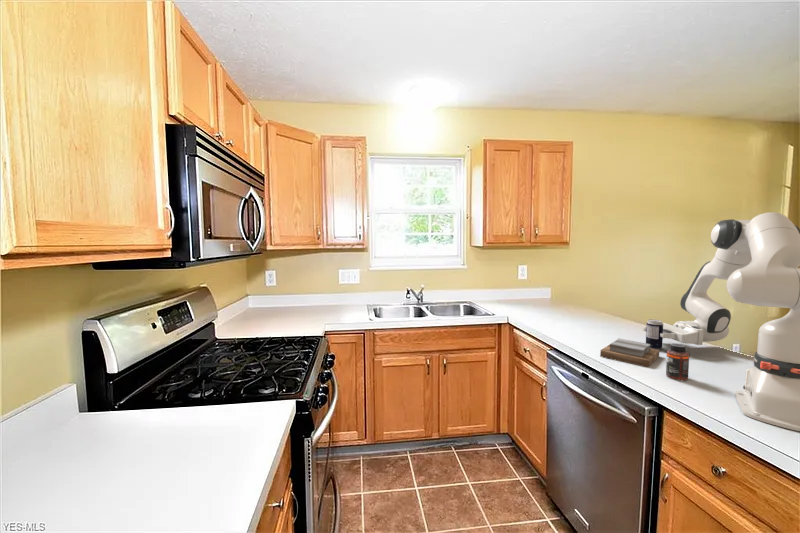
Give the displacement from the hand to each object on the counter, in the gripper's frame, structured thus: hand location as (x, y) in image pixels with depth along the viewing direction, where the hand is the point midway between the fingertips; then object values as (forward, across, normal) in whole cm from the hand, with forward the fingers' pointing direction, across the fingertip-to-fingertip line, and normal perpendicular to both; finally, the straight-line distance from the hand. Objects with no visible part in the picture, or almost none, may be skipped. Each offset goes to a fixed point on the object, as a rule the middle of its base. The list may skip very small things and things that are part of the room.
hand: (652, 332), depth 147 cm
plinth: (+15, +8, +7) cm, 19 cm away
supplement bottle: (+14, +29, +7) cm, 33 cm away
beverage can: (-1, 0, +7) cm, 7 cm away
